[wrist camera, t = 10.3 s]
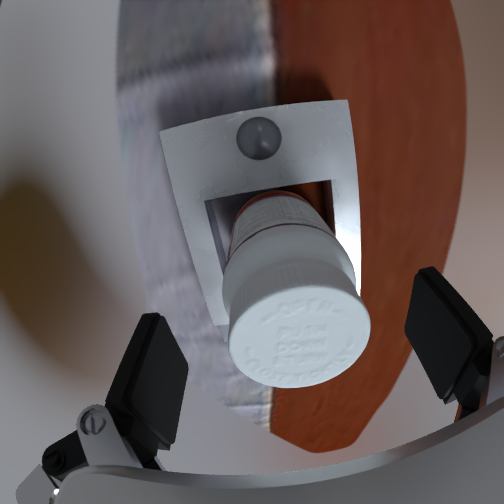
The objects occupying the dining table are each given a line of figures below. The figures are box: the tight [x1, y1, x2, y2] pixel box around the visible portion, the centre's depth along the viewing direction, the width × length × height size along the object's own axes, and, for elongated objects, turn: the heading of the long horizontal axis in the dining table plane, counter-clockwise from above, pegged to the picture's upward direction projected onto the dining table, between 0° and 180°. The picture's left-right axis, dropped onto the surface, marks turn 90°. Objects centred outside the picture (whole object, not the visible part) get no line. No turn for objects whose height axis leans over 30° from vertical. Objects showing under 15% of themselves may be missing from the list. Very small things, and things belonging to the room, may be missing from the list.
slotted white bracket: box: [159, 100, 361, 343], centre depth 18 cm, size 17×11×3 cm, turn 10°
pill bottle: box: [222, 190, 370, 388], centre depth 14 cm, size 6×6×11 cm
